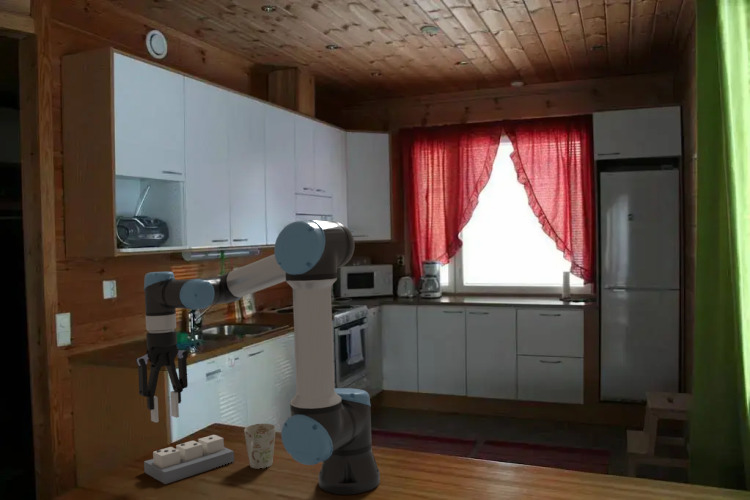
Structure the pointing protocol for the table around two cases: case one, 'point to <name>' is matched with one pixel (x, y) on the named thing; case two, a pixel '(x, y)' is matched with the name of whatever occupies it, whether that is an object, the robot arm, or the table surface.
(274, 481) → the table surface
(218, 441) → the white block
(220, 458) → the board
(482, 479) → the table surface
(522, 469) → the table surface
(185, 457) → the white die
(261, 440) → the mug
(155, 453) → the white block with dots
